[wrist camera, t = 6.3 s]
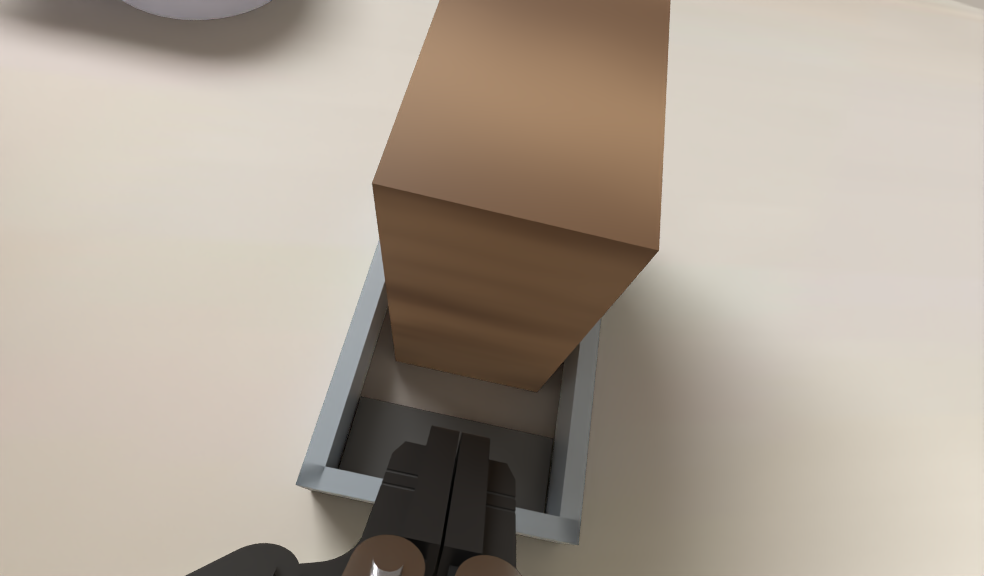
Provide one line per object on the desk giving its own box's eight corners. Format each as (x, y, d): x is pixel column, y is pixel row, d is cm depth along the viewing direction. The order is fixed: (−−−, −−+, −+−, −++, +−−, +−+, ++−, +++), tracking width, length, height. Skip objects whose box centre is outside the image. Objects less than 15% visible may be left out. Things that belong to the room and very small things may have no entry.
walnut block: (536, 392, 18) (659, 250, 9) (395, 360, 17) (372, 183, 9) (567, 188, 22) (673, -54, 13) (453, 160, 21) (477, -104, 13)
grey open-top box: (559, 543, 16) (578, 545, 14) (310, 490, 15) (295, 485, 14) (596, 223, 21) (613, 194, 19) (411, 179, 21) (410, 146, 19)
